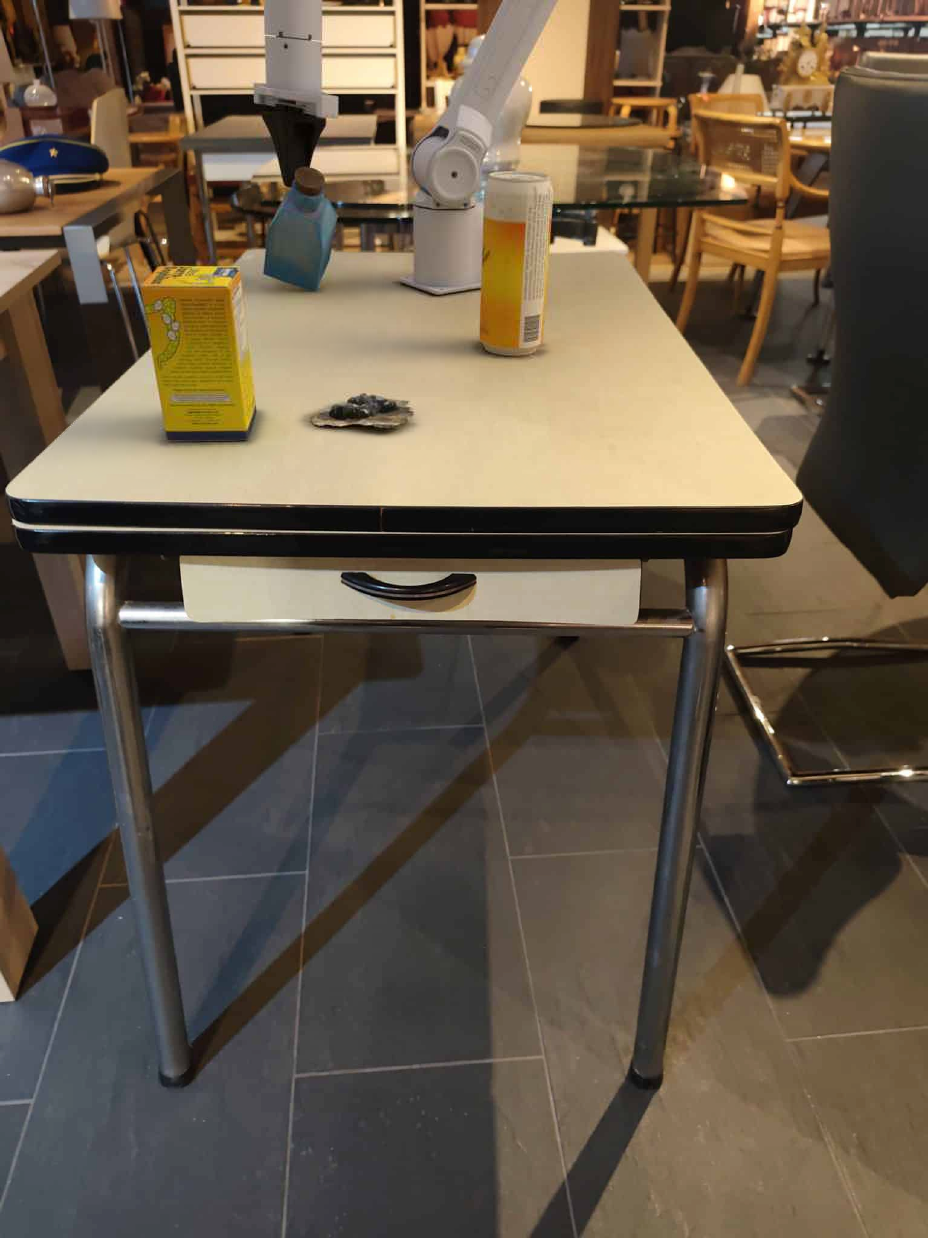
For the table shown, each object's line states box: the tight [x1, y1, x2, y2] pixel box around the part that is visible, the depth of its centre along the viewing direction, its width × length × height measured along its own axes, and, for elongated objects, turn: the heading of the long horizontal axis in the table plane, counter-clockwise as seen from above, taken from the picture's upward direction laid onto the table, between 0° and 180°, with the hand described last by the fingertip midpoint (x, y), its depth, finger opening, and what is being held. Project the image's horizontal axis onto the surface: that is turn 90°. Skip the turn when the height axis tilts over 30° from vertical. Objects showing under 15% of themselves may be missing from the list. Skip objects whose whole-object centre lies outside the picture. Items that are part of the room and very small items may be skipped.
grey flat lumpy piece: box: [309, 392, 415, 429], centre depth 68 cm, size 7×8×2 cm
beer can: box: [478, 170, 554, 357], centre depth 81 cm, size 6×6×15 cm
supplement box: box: [139, 265, 257, 443], centre depth 63 cm, size 6×6×11 cm
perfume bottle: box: [262, 166, 338, 293], centre depth 98 cm, size 6×6×12 cm
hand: (294, 186), depth 97 cm, fingers closed, pressing on perfume bottle
